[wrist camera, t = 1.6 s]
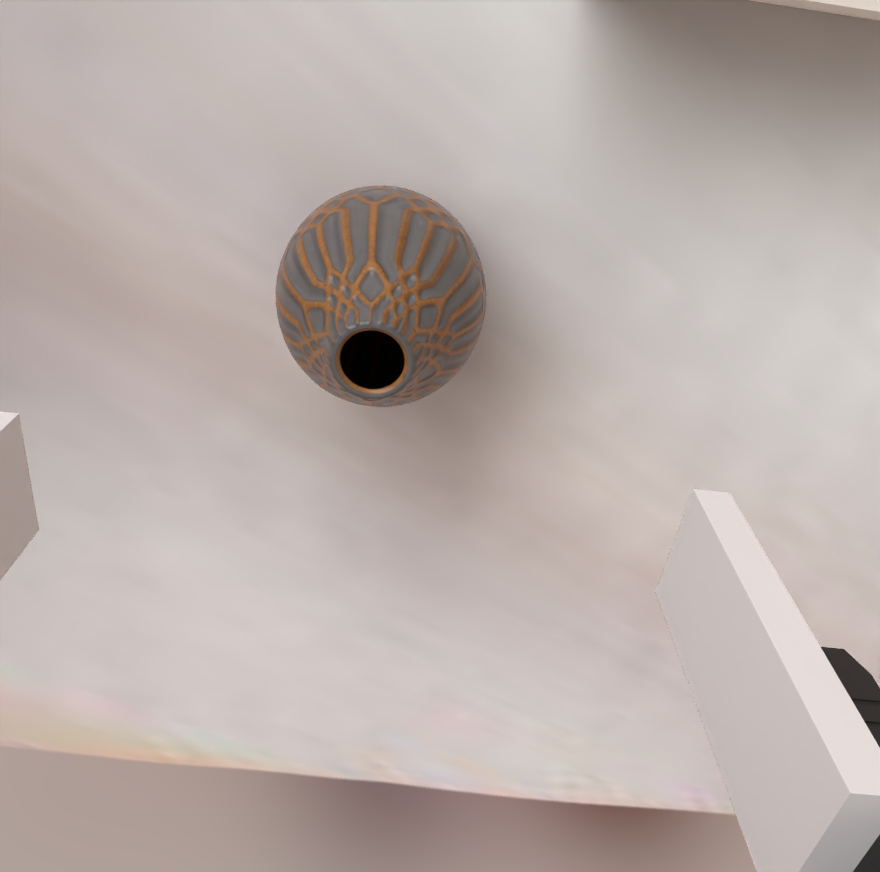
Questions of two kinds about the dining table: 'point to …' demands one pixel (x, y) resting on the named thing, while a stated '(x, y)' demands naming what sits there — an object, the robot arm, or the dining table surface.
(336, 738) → the dining table surface
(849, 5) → the riser block
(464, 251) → the vase
